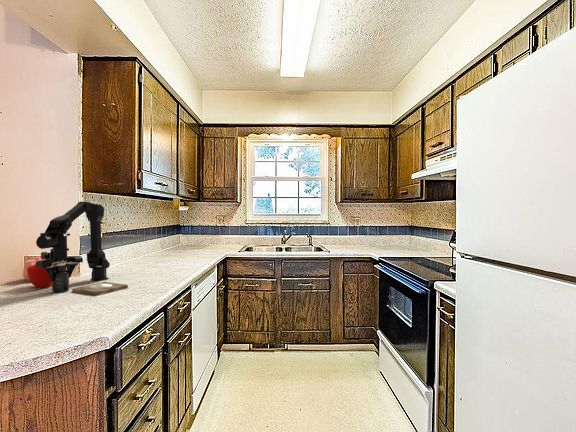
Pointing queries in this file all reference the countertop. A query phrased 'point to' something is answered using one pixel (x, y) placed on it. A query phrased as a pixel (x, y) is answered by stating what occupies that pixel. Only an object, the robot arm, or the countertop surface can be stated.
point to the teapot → (29, 263)
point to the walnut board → (99, 288)
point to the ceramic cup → (39, 276)
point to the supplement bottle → (60, 279)
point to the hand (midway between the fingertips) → (60, 280)
